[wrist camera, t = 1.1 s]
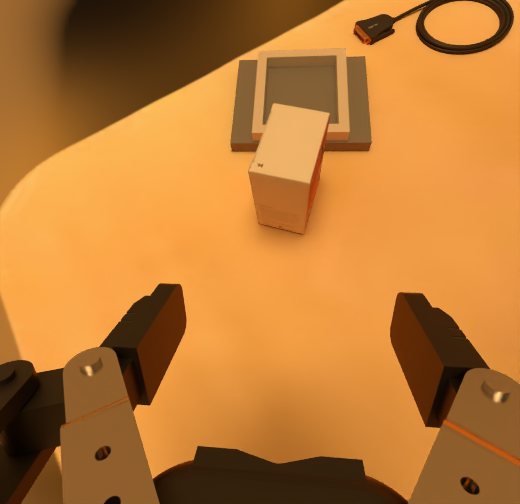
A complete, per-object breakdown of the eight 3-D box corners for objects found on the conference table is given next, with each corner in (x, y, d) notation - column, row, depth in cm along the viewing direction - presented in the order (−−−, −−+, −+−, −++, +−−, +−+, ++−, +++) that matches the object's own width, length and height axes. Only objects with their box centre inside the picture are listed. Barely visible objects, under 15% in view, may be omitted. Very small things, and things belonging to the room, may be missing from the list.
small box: (304, 236, 36) (310, 186, 26) (257, 224, 37) (246, 172, 27) (320, 177, 38) (332, 110, 28) (276, 167, 39) (272, 100, 29)
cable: (572, 9, 45) (581, -2, 43) (407, 92, 42) (411, 83, 41) (502, -39, 49) (508, -51, 48) (349, 33, 47) (351, 23, 45)
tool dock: (362, 66, 44) (367, 45, 41) (368, 150, 39) (374, 133, 36) (240, 69, 45) (237, 50, 42) (232, 151, 40) (228, 135, 38)
